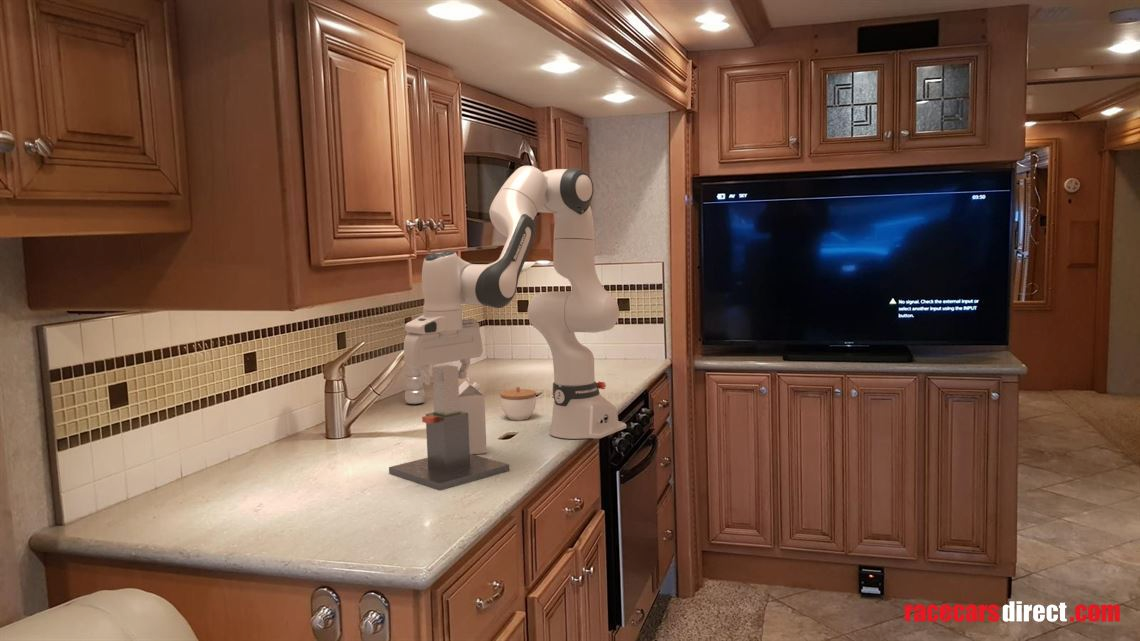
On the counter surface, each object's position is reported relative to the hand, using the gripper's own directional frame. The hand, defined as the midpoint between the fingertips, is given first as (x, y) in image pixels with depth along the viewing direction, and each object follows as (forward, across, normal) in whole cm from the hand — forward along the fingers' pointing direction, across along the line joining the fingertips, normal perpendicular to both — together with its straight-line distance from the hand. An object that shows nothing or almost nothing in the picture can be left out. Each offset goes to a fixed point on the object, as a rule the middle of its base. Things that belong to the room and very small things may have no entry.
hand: (445, 381), depth 203 cm
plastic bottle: (+22, -41, -73) cm, 87 cm away
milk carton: (+22, -15, -11) cm, 29 cm away
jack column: (+15, 0, 0) cm, 15 cm away
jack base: (+22, 0, 0) cm, 22 cm away
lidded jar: (+22, -49, -31) cm, 62 cm away
